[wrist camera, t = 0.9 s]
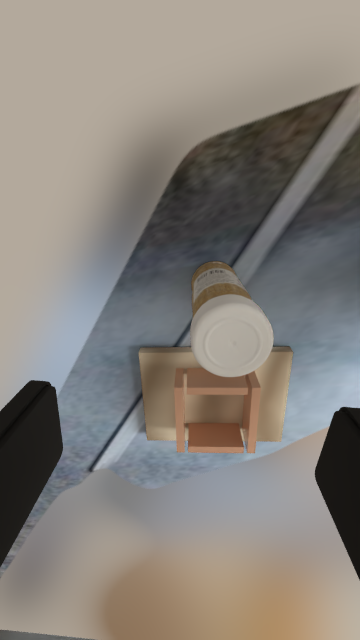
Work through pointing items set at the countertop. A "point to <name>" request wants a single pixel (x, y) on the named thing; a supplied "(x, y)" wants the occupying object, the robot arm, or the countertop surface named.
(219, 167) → the countertop surface
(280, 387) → the stand board
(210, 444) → the collar
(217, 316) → the sprinkles bottle
